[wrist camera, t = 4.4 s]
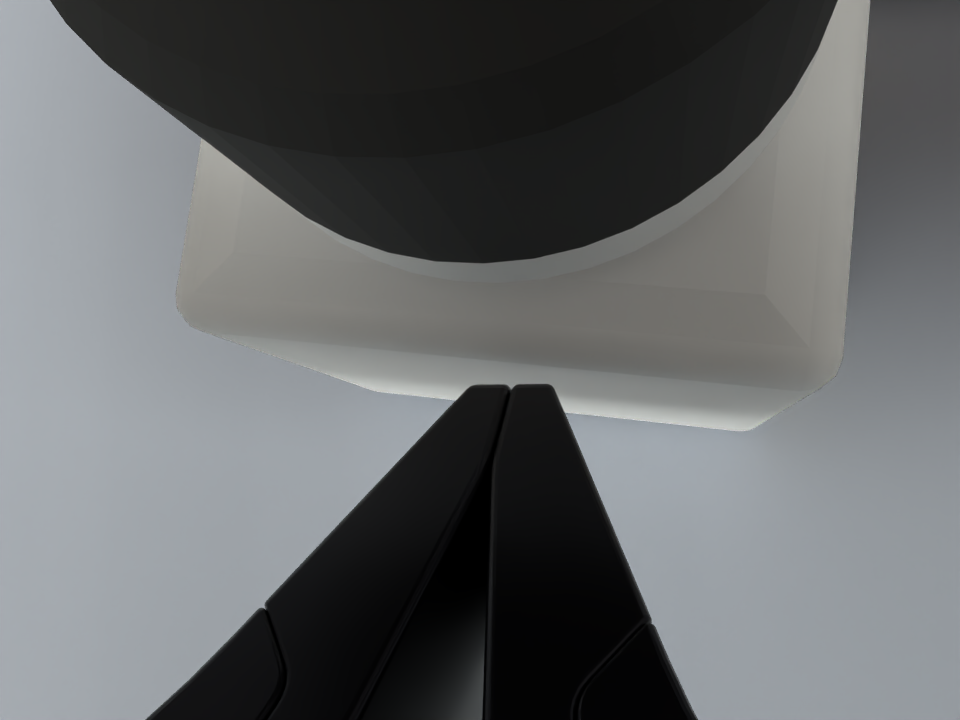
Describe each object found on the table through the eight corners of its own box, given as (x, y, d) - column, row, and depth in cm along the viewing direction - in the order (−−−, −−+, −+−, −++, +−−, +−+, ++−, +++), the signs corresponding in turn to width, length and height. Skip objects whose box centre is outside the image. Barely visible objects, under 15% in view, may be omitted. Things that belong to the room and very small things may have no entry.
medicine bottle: (760, 435, 15) (1096, 269, 4) (362, 391, 17) (-300, 171, 5) (794, 39, 16) (1158, -1120, 5) (412, 30, 18) (-60, -869, 6)
